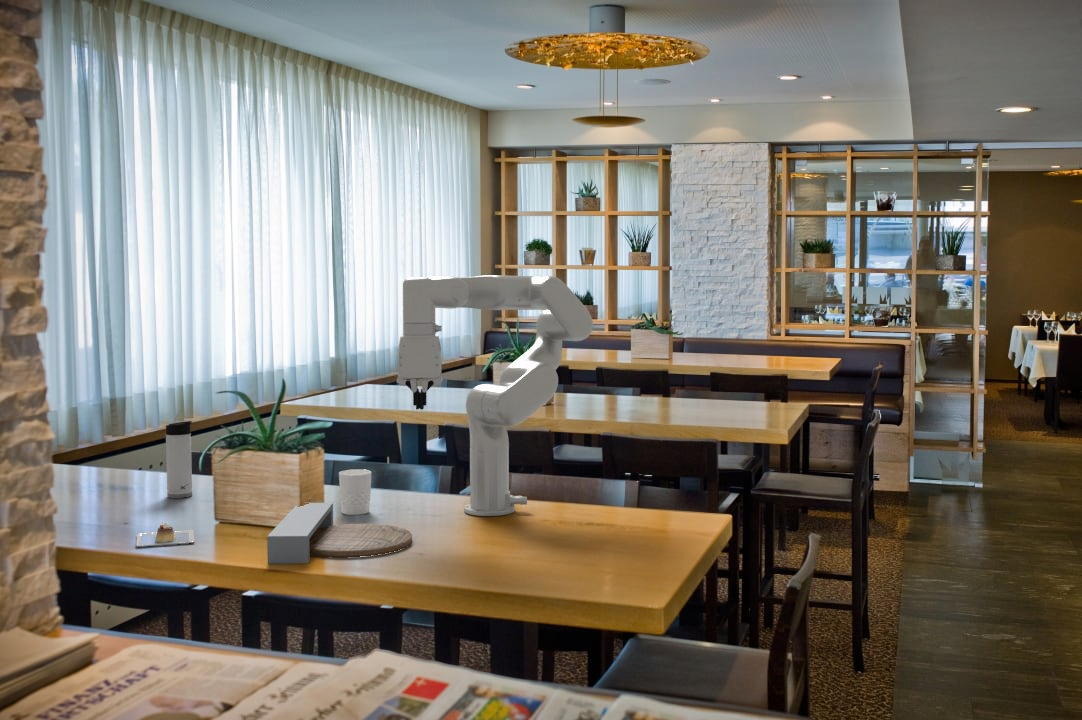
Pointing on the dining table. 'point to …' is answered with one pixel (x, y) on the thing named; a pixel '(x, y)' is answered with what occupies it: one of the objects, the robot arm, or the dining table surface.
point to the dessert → (165, 536)
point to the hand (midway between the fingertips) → (419, 408)
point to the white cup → (355, 491)
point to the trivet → (358, 540)
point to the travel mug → (179, 460)
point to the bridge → (297, 533)
